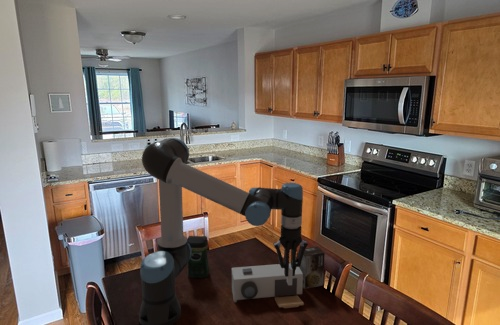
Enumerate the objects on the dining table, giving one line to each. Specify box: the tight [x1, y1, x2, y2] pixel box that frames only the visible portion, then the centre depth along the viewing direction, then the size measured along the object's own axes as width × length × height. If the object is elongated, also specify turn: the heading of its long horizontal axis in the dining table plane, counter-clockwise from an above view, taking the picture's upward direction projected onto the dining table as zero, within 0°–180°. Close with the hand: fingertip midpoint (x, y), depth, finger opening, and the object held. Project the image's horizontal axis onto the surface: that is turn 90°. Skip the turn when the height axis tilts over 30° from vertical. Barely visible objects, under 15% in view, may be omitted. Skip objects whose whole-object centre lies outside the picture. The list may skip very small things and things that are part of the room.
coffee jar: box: [187, 235, 210, 279], centre depth 150 cm, size 10×8×19 cm
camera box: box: [231, 262, 303, 303], centre depth 136 cm, size 28×11×11 cm, turn 99°
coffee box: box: [299, 245, 325, 290], centre depth 142 cm, size 9×6×16 cm
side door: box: [274, 294, 305, 309], centre depth 130 cm, size 10×1×8 cm
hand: (289, 283), depth 127 cm, fingers closed
